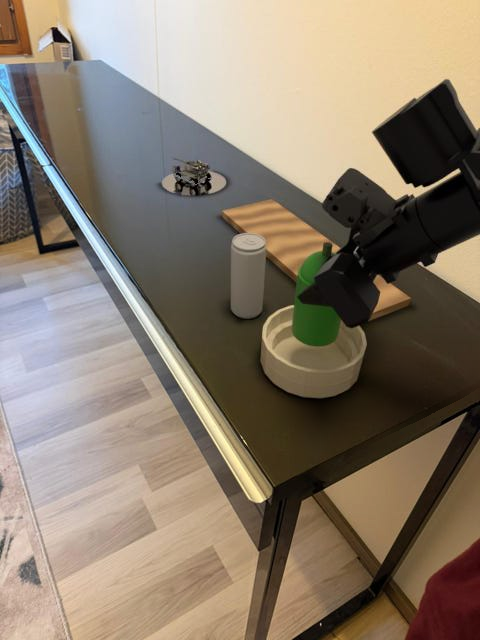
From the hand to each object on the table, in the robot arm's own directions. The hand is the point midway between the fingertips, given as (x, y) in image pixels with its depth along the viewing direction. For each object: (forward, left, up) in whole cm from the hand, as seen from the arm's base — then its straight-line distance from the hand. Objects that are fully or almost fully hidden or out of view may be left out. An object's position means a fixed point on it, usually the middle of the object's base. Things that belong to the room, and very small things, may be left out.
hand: (310, 286), depth 54 cm
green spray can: (-1, 0, -6) cm, 7 cm away
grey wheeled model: (+41, -47, -12) cm, 63 cm away
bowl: (-1, 0, -12) cm, 12 cm away
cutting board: (+8, -26, -12) cm, 30 cm away
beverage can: (+11, -7, -12) cm, 18 cm away
